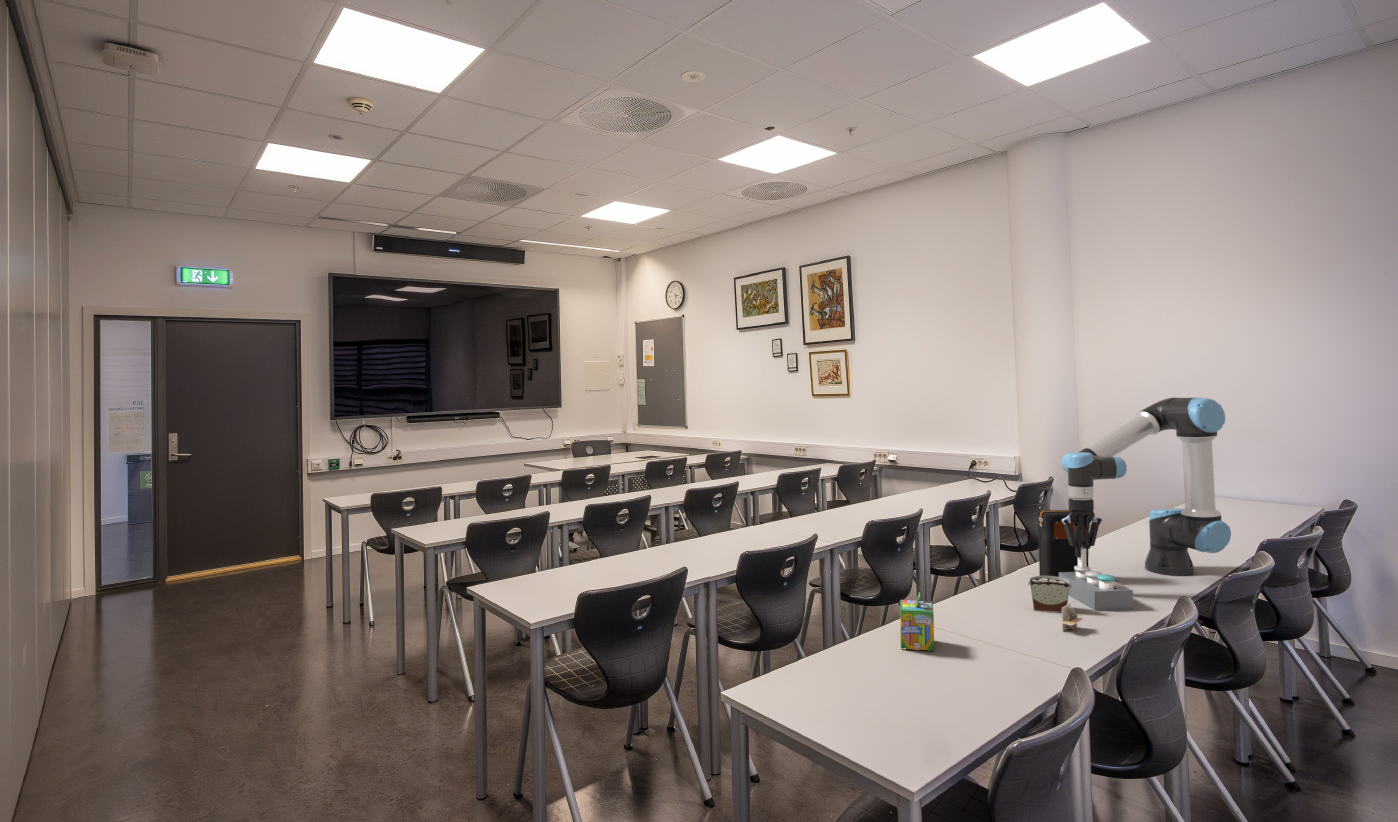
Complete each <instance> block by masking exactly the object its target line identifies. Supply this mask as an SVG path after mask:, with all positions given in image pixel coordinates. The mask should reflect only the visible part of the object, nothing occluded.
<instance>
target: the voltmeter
mask: <svg viewBox="0 0 1398 822" xmlns="http://www.w3.org/2000/svg"><path fill="white" fill-rule="evenodd" d="M1037 513H1038V514H1037V515H1038V517H1037V518H1038V558H1039V559H1038V562H1039V563H1038V564H1039V566H1038V567H1039V576H1054V577H1059V572H1076V571H1075V570H1074V566H1078V557H1076V556H1075V547H1073V546H1071V545H1069V542H1068V538H1067V534H1066V531H1065V527H1064V524H1063V523H1062V521H1061V519H1062V518H1066V517H1067V516H1068V513H1069V509H1046V510H1043V509H1041V510H1038V511H1037ZM1070 521H1071V520H1070ZM1070 524H1071V527H1072V531H1073V534H1074V527H1073V522H1072V521H1071V523H1070ZM1081 539H1082V529H1081ZM1082 547H1083V546H1082ZM1086 566H1088V567H1089V556H1088V557H1086Z"/></svg>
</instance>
